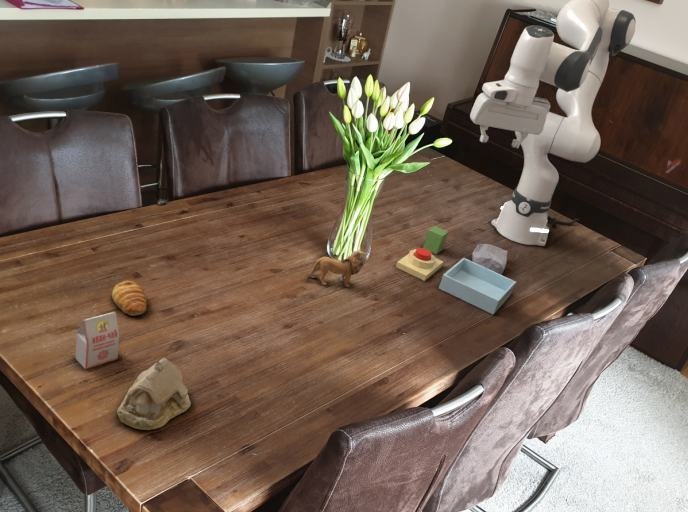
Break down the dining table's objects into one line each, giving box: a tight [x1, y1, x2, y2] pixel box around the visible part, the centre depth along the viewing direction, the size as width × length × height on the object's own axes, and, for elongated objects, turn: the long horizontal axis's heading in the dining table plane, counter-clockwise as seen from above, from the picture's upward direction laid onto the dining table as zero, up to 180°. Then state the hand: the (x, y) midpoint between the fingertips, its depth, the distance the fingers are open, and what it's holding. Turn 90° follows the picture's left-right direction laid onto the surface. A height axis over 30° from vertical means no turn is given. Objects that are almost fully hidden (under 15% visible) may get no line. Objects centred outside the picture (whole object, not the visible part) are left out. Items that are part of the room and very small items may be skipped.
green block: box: [422, 225, 449, 255], centre depth 219 cm, size 4×4×6 cm
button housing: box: [395, 248, 444, 282], centre depth 208 cm, size 12×9×4 cm
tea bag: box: [75, 311, 120, 370], centre depth 143 cm, size 4×7×10 cm, turn 135°
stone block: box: [471, 243, 508, 275], centre depth 221 cm, size 12×5×10 cm
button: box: [415, 247, 433, 261], centre depth 207 cm, size 4×4×2 cm
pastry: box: [111, 280, 148, 317], centre depth 162 cm, size 9×7×4 cm
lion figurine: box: [305, 250, 367, 288], centre depth 189 cm, size 15×5×9 cm, turn 110°
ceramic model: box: [116, 357, 192, 431], centre depth 136 cm, size 14×11×10 cm
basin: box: [438, 257, 517, 315], centre depth 204 cm, size 15×16×4 cm
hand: (498, 144), depth 202 cm, fingers open, 8 cm apart
